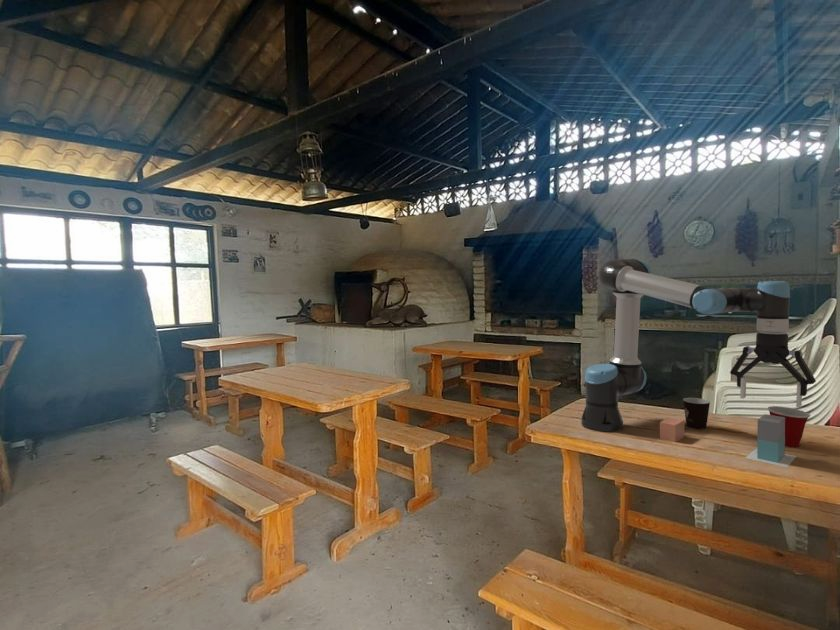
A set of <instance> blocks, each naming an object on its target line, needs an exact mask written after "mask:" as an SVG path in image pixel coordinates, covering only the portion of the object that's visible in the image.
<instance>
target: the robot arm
mask: <svg viewBox="0 0 840 630" xmlns="http://www.w3.org/2000/svg"><path fill="white" fill-rule="evenodd" d="M598 279H599V282H600V284H602V286H603V287H605V288H606V289H608V290H609V289H610V290H612V294H613V295H614V296H615V297H616V301H615V302H616V304H615V305H616V307H615V321H614V322H615V326H614V345H613V348H614V349H613V356H612V357H611V358H610V359H609V363H600V364H598V363H597V364H593V365H591V366H588V367H587V368H586V369H585V376H584V380H585V385H584V386H585V387H584V388H585V406H584V409H583V411H582V415H581V421H580V422H581V423H580V424H581V425H582V427H583V428H586V429H589V430H594V431H598V432H599V431H600V432H615V431H620V430H622V429H623V428H624V420H623V417H622V414H621V412H620V410H619V409H620V408H619V397H621V396H625V395H632V394H634V393H637V392H639V391H641V390H642V389H644V387H645V385H646V383H647V372H646V371H645V370H644V368H643V366H642V361H641V360H640V359H639V357H638V352H639V349H638V348H639V329H640V316H641V315H640V314H641V299H642V298H643V297H644V296H647V297H651V298H654V299H658V300H661V301H662V300H663V301H666V302H669V303H673V304H677V305H681V306H684V307H688V308H690V309H695V311H697V312H698V313H699V314H702V315H717V314H724V313H733V312H734V313H735V312H737V313H738V312H739V313H741V312H742V313H743V312H745V313H748V312H749V313H756V331H757V333H756V334H755V335H756V336H755V337H756V339H755V347H751V346H749V345H746V346H744V347H743V348H742V353H741V354H740V356H739V358H738V359H737V361H736V362H735V364H734V365H733V367H732V368H731V370H730V371H729V374H730V375H733V376H735V377H736V386H737V388H740V397H739V398H740V399H745V398H747V396H746V395H747V376H745V374H747V373H748V372H749V371H751V370H752V369H753V368H754V367H755V366H757V365H758V364H759V363H761V362H762V363H764V364H774V365H778V364H780V365H782V367H783V368H785V369H786V370H787V371H788V372H789V373H790V374H791V376H792V377H794V379H795V380H796V381H797V382H798V384H796V399H795V400H796V401H795V402H796V404H795V406H796V408H801V407H802V405H803V404H802V403H803V397H805V396H806V395H808V394H807V392H808V385H813V384H815V383H816V382H817V379H816V378H815V377H814V375H813V373H812V372H811V369H810V368H809V367H808V365H807V364H808V363H806V361H805V360H804V358H803V352H802V350H801V349H798V350H790V349H789V334H787V332H789V329H790V328H789V327H790V326H789V325H790V324H789V323H790V321H789V320H790V318H789V317H790V301H791V295H790V294H791V291H790V283H789V282H788V281H786V280H784V281H783V280H780V281H779V280H777V281H776V280H774V281H769V280H768V281H759V282H758V283H757V286H756V287H749V288H748V287H721V288H714V287H709V286H704V285H700V284H696V283H691V282H687V281H683V280H680V279H676V278H675V279H674V278H669V277H665V276H660V275H658V274H657V275H656V274H653V271H652V268H651V267H650V265H649V264H648V263H647V262H646V261H645V260H642V259H637V258H630V259H629V258H625V259H624V258H622V259H620V258H615V259H609V260H607V261H605V262H604V263H603V264H602V265H601V267H600V268H599V271H598ZM752 353H754V354H755V355H756V356H757V357H756V358H754V359H753V360H752V361H751V362H750V363H748V364H747V365H746V366H745V367H744V368H743V369H742V370H740V368H741V366H742V365H743V364H744V362H745V361H746V359H747V358H748V357H749V355H751V354H752ZM789 356H791V357H792V358H794V359H795V361H796V364H797V365H798V366H799V368H800V370H801V372H802V374H803V375H804V376H803V375H802V374H801V373H800V372H799V371H798V370H797V369H796V368H795V367H794V366H793V364H792V363H791V362H790V361H789V360H788V359H787V358H788V357H789ZM739 370H740V371H739Z"/></svg>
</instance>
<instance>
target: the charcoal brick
mask: <svg viewBox="0 0 840 630" xmlns="http://www.w3.org/2000/svg"><path fill="white" fill-rule="evenodd" d="M784 437H785V417H779V416H773V415H770V414H763V415H761V416H760V417H759V418H758V419H757V439H760V440H765V441H770V442H775V443H779V442H780V441H781V440H782V439H783V438H784Z"/></svg>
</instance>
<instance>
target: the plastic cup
mask: <svg viewBox="0 0 840 630" xmlns="http://www.w3.org/2000/svg"><path fill="white" fill-rule="evenodd" d="M767 410H768V412H769V415H773V416H779V417H785V448H786V447H787V448H798V447H800V445H801V441H802V438H803V435H804V429H805V427H806V424H807V421H808V420H809V418H810V417H811V415H812V414H810V413H809V412H807V411H804V410H801V409H798V408H791V407H787V406H775V405H774V406H771V405H770V406H768V407H767Z"/></svg>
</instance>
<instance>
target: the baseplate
mask: <svg viewBox="0 0 840 630" xmlns="http://www.w3.org/2000/svg"><path fill="white" fill-rule="evenodd" d="M796 457H797V456H796V455H791V454H787V453H785V456H784V457H783V458H782V459H781V460H780V461H779V463H776V462H771V461H767V460H762V459H758V458H757V447H756V448H755V449H753V450H752V452H750V453H749V454H748V455H747V456H745V459H748V460H751V461H752V460H753V461H757V462H761V463H765V464H771V465H774V466H778V467H783V468H788V467H789V466H790V464H792V462H793V461H794V460H795V459H796Z"/></svg>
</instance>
